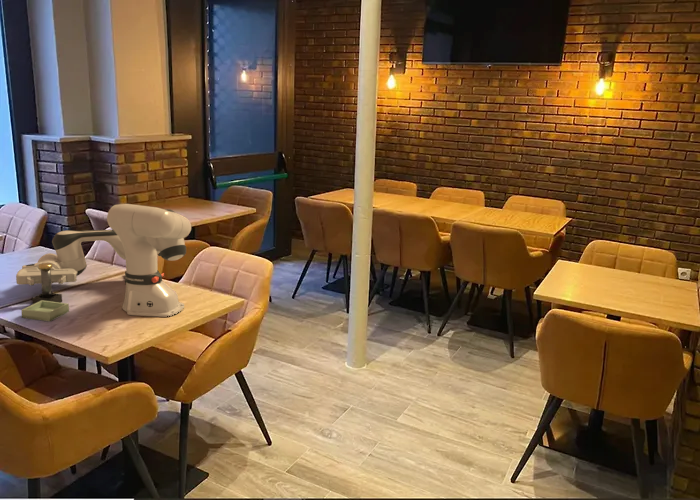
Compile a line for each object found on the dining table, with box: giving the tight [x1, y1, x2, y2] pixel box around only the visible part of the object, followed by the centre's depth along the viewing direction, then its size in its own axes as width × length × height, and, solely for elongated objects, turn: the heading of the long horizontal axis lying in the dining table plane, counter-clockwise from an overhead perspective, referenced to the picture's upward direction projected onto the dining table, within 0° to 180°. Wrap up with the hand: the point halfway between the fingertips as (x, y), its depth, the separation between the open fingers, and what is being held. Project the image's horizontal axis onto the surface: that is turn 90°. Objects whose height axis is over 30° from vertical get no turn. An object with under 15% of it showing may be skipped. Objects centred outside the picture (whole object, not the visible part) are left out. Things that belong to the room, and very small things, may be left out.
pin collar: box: [31, 292, 63, 305], centre depth 213 cm, size 7×7×3 cm
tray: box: [21, 300, 70, 322], centre depth 203 cm, size 11×11×3 cm
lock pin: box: [39, 263, 53, 299], centre depth 212 cm, size 4×4×15 cm
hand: (46, 282), depth 211 cm, fingers open, 8 cm apart
